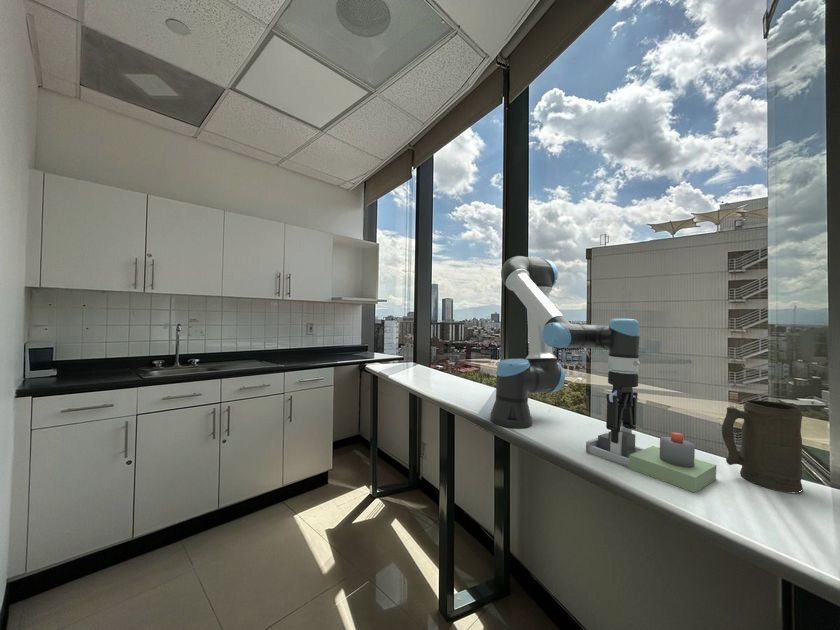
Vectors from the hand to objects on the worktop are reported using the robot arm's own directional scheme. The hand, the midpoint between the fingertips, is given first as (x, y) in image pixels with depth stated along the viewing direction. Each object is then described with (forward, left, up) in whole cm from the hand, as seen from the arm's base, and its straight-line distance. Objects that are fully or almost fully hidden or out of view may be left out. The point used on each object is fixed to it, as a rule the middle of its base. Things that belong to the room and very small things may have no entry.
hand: (620, 451), depth 95 cm
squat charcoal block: (-1, 0, -1) cm, 1 cm away
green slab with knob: (+6, 0, -1) cm, 6 cm away
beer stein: (+25, +16, -1) cm, 30 cm away
